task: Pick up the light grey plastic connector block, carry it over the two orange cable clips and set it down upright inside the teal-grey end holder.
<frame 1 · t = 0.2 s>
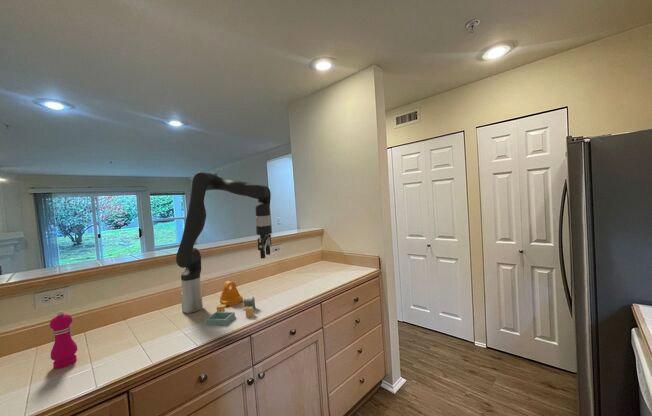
hand: (265, 256, 137), 28 cm above the counter, fingers open, 8 cm apart
connector: (249, 309, 141), on the counter
end holder: (220, 320, 129), on the counter
clip right: (249, 315, 133), on the counter
pepper mill: (65, 364, 100), on the counter
bracket: (232, 303, 152), on the counter
clip left: (221, 313, 138), on the counter
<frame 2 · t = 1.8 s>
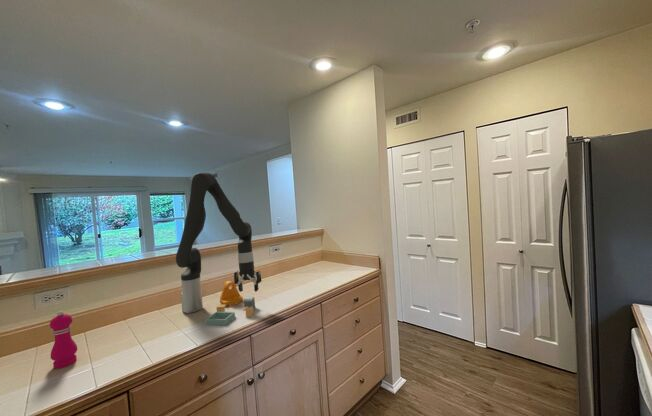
hand: (248, 291, 141), 10 cm above the counter, fingers open, 8 cm apart
nothing on the counter moved.
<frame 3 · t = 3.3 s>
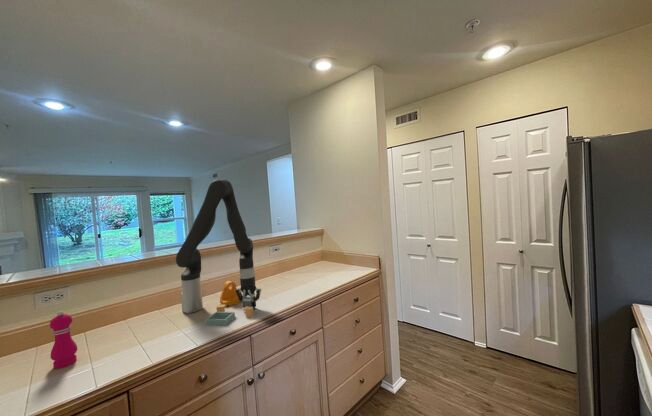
hand: (249, 308, 141), 0 cm above the counter, fingers closed on connector, 4 cm apart
connector: (249, 309, 141), on the counter, touching gripper
everything else where it was.
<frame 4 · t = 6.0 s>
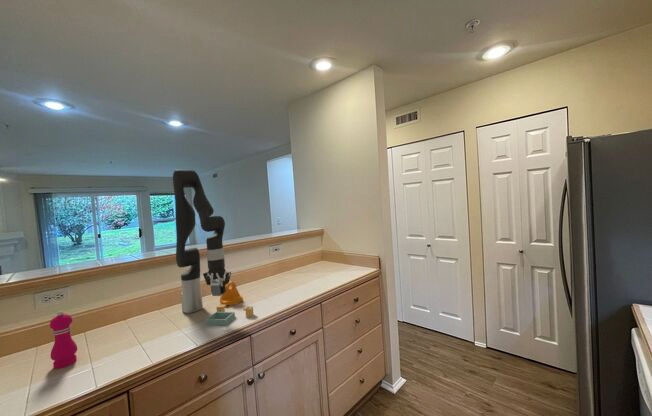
hand: (218, 293, 129), 13 cm above the counter, fingers closed on connector, 4 cm apart
connector: (218, 294, 128), point 13 cm above the counter, touching gripper
everything else where it was.
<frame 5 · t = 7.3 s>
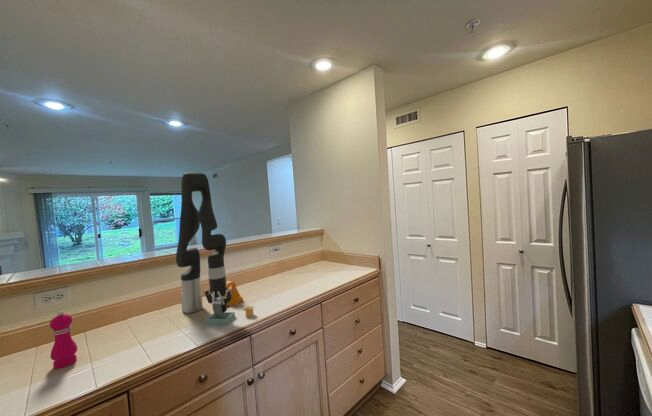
hand: (220, 311, 129), 5 cm above the counter, fingers closed on connector, 4 cm apart
connector: (220, 312, 129), point 4 cm above the counter, touching gripper
everything else where it was.
when the fingers open (2 cm above the counter, at t = 8.6 s): connector drops 2 cm, resting in end holder.
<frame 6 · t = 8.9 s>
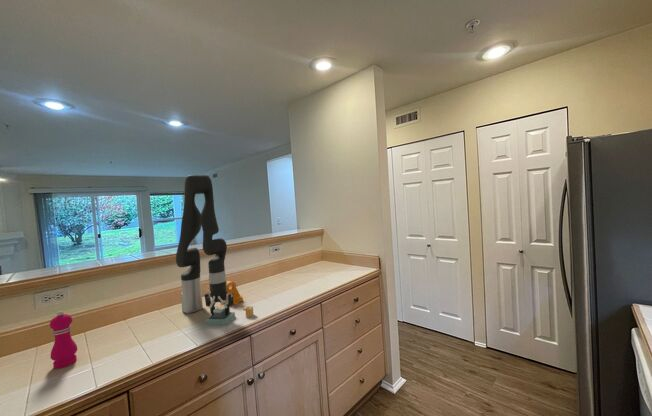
hand: (220, 314, 129), 3 cm above the counter, fingers open, 6 cm apart
connector: (220, 320, 129), resting in end holder
everything else where it was.
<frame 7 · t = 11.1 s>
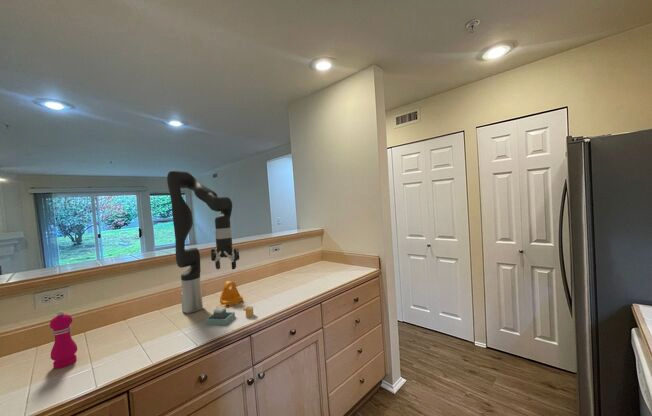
hand: (226, 269, 135), 23 cm above the counter, fingers open, 8 cm apart
nothing on the counter moved.
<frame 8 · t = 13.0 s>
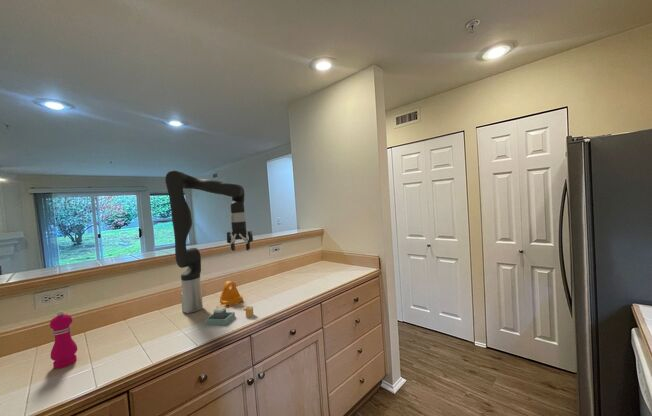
hand: (240, 250, 147), 30 cm above the counter, fingers open, 8 cm apart
nothing on the counter moved.
at the end: connector 0.1 cm off-centre on the end holder, point 0.0 cm above the end holder's base; connector tilted 0°; the gripper is holding nothing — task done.
